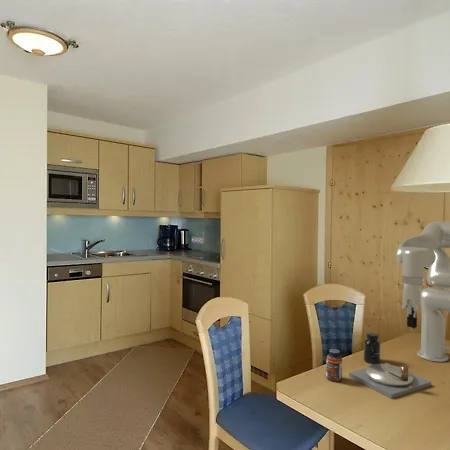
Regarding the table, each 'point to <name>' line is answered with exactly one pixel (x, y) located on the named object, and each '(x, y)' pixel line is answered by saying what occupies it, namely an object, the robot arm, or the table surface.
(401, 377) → the dial
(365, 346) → the supplement bottle
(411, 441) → the table surface
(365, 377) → the base plate
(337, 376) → the supplement bottle
